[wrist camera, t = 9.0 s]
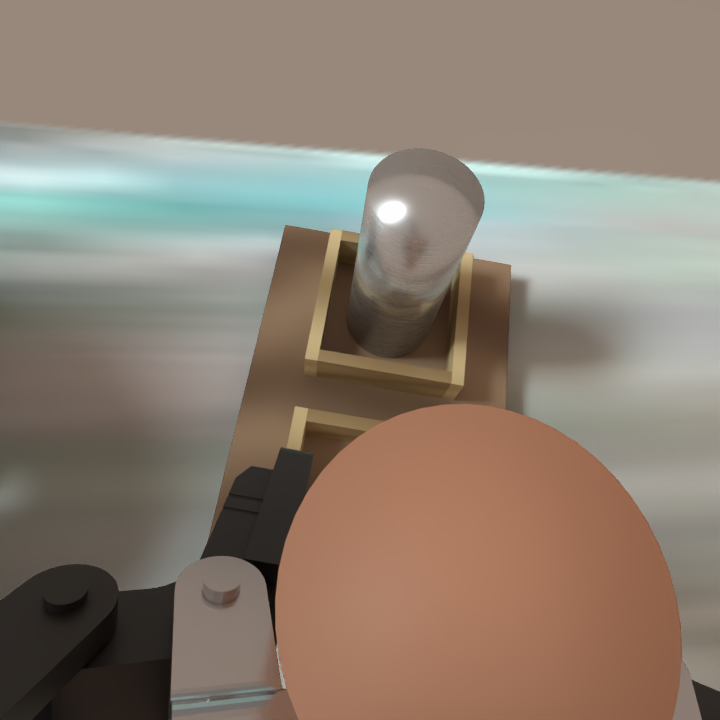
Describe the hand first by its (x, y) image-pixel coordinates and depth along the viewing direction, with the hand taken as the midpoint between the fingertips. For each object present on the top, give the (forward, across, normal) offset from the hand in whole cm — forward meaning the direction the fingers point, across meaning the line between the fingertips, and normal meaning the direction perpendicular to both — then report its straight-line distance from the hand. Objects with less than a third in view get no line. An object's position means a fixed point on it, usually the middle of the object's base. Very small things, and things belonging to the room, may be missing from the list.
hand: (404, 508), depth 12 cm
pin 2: (+2, 0, +4) cm, 5 cm away
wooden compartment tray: (+16, 0, +6) cm, 17 cm away
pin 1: (+19, 0, +1) cm, 19 cm away
